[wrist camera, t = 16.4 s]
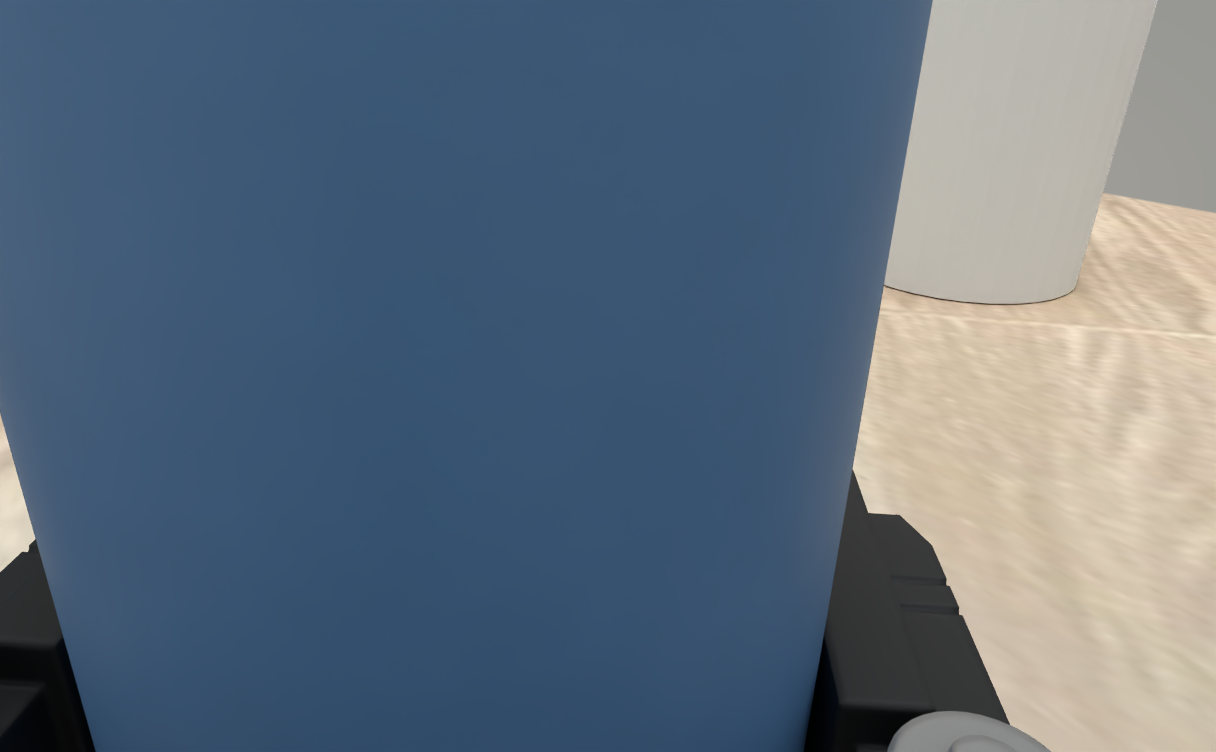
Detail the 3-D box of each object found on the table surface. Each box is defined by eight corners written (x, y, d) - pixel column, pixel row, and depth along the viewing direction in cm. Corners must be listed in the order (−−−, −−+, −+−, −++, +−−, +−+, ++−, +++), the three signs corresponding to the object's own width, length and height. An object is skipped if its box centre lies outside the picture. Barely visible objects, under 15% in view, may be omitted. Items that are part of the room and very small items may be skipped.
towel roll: (609, 836, 15) (654, -70, 9) (831, 1271, 10) (1212, -68, 4) (220, 982, 12) (-38, -101, 7) (266, 1637, 8) (-455, -169, 2)
